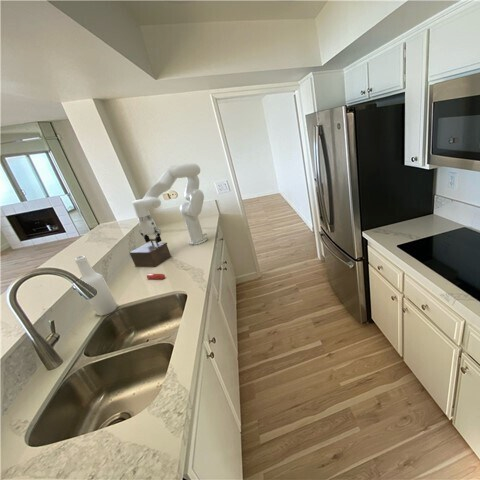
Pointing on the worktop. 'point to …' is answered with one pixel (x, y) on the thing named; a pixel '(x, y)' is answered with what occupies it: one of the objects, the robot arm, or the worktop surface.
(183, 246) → the worktop surface
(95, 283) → the alcohol
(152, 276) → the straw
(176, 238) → the worktop surface
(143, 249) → the bin lid
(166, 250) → the bin
